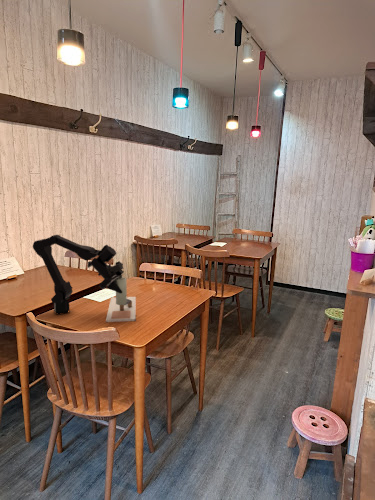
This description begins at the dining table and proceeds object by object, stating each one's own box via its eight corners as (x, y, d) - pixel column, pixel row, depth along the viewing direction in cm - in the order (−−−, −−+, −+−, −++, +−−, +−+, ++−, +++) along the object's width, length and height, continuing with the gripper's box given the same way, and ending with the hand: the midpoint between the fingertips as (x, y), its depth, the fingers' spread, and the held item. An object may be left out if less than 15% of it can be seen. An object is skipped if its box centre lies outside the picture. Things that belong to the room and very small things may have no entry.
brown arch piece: (120, 311, 175) (120, 304, 175) (112, 305, 184) (112, 298, 183) (134, 308, 180) (134, 301, 179) (126, 302, 189) (125, 296, 188)
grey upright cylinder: (114, 304, 167) (114, 280, 165) (117, 301, 172) (117, 277, 170) (125, 305, 167) (124, 280, 165) (127, 301, 172) (127, 277, 170)
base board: (135, 320, 166) (135, 318, 166) (105, 322, 164) (105, 320, 164) (135, 298, 199) (135, 296, 199) (111, 299, 197) (111, 297, 197)
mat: (130, 318, 167) (130, 317, 167) (111, 318, 165) (111, 317, 165) (130, 311, 175) (130, 310, 175) (112, 312, 174) (112, 311, 174)
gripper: (105, 261, 157) (128, 286, 157) (119, 253, 175) (140, 276, 175) (89, 276, 160) (112, 301, 160) (105, 267, 178) (126, 289, 178)
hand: (123, 291), depth 168 cm, fingers closed on grey upright cylinder, 5 cm apart
